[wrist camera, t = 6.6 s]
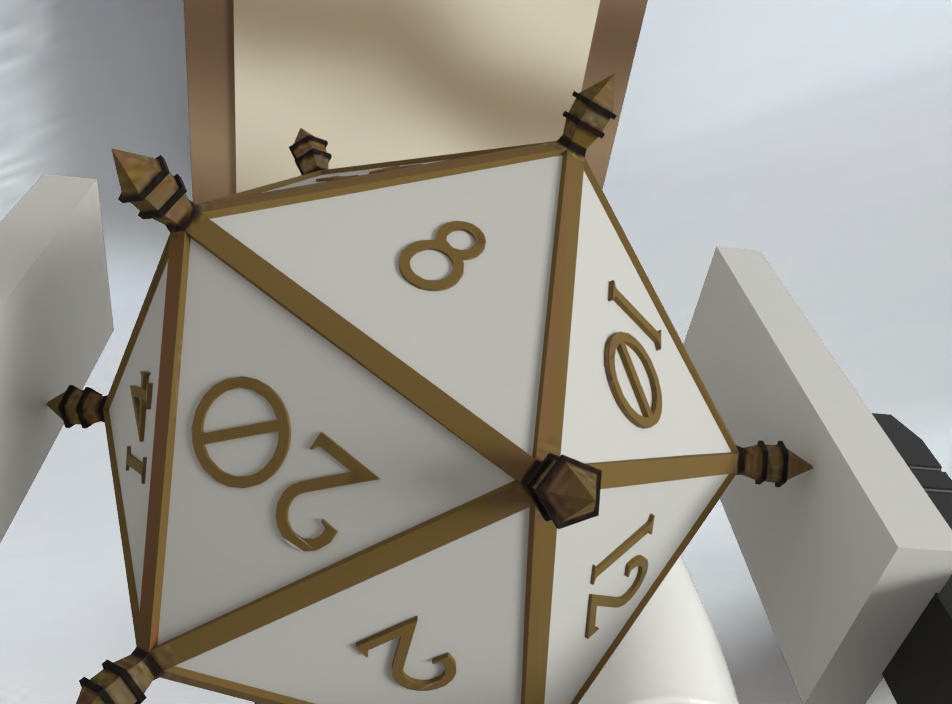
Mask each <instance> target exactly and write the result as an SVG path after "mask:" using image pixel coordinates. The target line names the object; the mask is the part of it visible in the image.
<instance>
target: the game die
mask: <svg viewBox="0 0 952 704" xmlns="http://www.w3.org/2000/svg"><path fill="white" fill-rule="evenodd" d="M615 74H616V73H614V74H612V75H611V76H609V77H607V78H605V79H603V80H602V81H600V82H598V83H596V84H594V85H593V86H591V87H589V88H587V89H585V90H584V91H582V92H580V93H577V92H575V91H574V92H573V94H572V96H574V97H576V99H575V101H574V103H573V105H572V107H571V109H570V111H569V113H568V112H567V111H564V113H563V116H564V117H566V121H565V126H564V131H563V135H562V136H561V137H560V138H559V139H558V140H557V141H552V142H544V143H536V144H528V145H520V146H511V147H503V148H495V149H487V150H479V151H471V152H463V153H455V154H447V155H439V156H431V157H423V158H415V159H407V160H399V161H391V162H383V163H375V164H367V165H359V166H350V167H342V168H334V169H328V163H329V161H330V159H331V158H332V156H331V154H330V153H327V151H326V147H327V145H328V142H327V141H326V140H323V139H320V138H317V137H315V136H313V135H312V134H310V133H308V132H307V131H305V130H304V129H302V128H300V130H299V132H298V135H297V137H296V139H295V142H294V144H293V145H291V146H289V149H290V151H291V153H292V155H293V157H294V159H295V160H294V161H295V163H296V165H297V167H298V169H299V171H300V173H301V176H298V177H294V178H290V179H287V180H283V181H279V182H276V183H272V184H268V185H265V186H261V187H257V188H254V189H250V190H246V191H243V192H239V193H235V194H232V195H228V196H225V197H221V198H217V199H214V200H210V201H206V202H203V203H199V204H194V203H193V202H191V201H190V200H189V199H188V198H187V196H186V194H185V193H186V192H187V190H186V188H185V186H184V183H183V181H182V178H181V177H180V176H179V175H178V174H176V175H175V176H173V175H172V174H171V173H170V172H169V170H168V167H167V164H166V162H165V159H164V158H163V157H162V156H161V155H160V156H159V157H157V158H156V159H154V158H149V157H145V156H141V155H137V154H133V153H128V152H124V151H120V150H116V149H112V152H113V157H114V161H115V165H116V169H117V174H118V178H119V182H120V186H121V191H122V193H121V195H120V197H119V198H118V200H120V201H121V202H122V203H127V202H131V203H132V204H133V205H134V206H135V207H137V208H138V209H139V210H140V212H139V214H138V216H140V217H141V218H142V219H150V218H153V219H155V220H157V221H159V222H161V223H163V224H165V225H166V227H167V228H168V230H169V231H170V235H169V238H168V241H167V243H166V246H165V248H164V251H163V254H162V256H161V259H160V261H159V264H158V267H157V269H156V272H155V274H154V277H153V280H152V282H151V285H150V287H149V290H148V293H147V295H146V298H145V300H144V303H143V306H142V308H141V311H140V314H139V316H138V319H137V321H136V324H135V327H134V329H133V332H132V334H131V337H130V340H129V342H128V345H127V347H126V350H125V353H124V355H123V358H122V360H121V363H120V366H119V368H118V371H117V373H116V376H115V379H114V381H113V384H112V386H111V389H110V392H109V394H108V396H102V394H100V393H98V392H96V391H95V390H93V389H91V388H89V387H86V388H85V390H81V389H79V388H77V387H75V386H74V385H69V386H68V388H67V390H66V391H65V392H63V393H62V394H60V395H58V396H57V397H55V398H53V399H52V400H50V401H49V402H47V406H48V407H49V408H50V409H51V410H52V411H53V412H55V413H56V414H57V415H58V416H59V417H60V418H61V419H62V420H63V422H64V424H65V427H66V428H70V427H72V426H73V425H75V424H81V425H82V428H88V427H89V426H91V425H92V424H94V423H96V422H100V421H102V422H105V426H106V433H107V441H108V448H109V455H110V462H111V469H112V476H113V483H114V490H115V497H116V504H117V511H118V518H119V525H120V532H121V539H122V546H123V553H124V560H125V567H126V575H127V582H128V589H129V596H130V603H131V610H132V617H133V624H134V631H135V638H136V645H137V647H136V649H135V650H134V651H133V653H132V654H131V655H129V656H127V657H125V658H123V659H121V660H118V661H116V662H114V663H113V662H111V661H109V660H106V661H105V662H104V663H102V666H103V668H104V669H103V670H102V671H101V672H99V673H98V674H97V675H95V676H94V677H93V678H91V679H90V680H89V679H87V678H85V677H83V678H82V679H81V680H80V681H79V682H80V684H81V687H82V689H81V692H80V695H79V698H78V700H77V703H76V704H140V703H142V702H143V701H144V700H145V699H146V696H145V695H144V693H145V691H146V690H147V688H148V687H149V685H150V684H151V682H152V681H153V680H155V679H157V678H159V677H161V678H165V679H168V680H172V681H176V682H180V683H184V684H188V685H191V686H195V687H199V688H203V689H207V690H211V691H214V692H218V693H222V694H226V695H230V696H234V697H237V698H241V699H245V700H249V701H253V702H255V704H578V703H579V702H580V700H581V699H582V698H583V696H584V695H585V693H586V692H587V690H588V689H589V687H590V686H591V685H592V683H593V682H594V680H595V679H596V677H597V676H598V674H599V673H600V671H601V670H602V669H603V667H604V666H605V664H606V663H607V661H608V660H609V658H610V657H611V655H612V654H613V653H614V651H615V650H616V648H617V647H618V645H619V644H620V642H621V641H622V640H623V638H624V637H625V635H626V634H627V632H628V631H629V629H630V628H631V626H632V625H633V624H634V622H635V621H636V619H637V618H638V616H639V615H640V613H641V612H642V610H643V609H644V608H645V606H646V605H647V603H648V602H649V600H650V599H651V597H652V596H653V595H654V593H655V592H656V590H657V589H658V587H659V586H660V584H661V583H662V581H663V580H664V579H665V577H666V576H667V574H668V573H669V571H670V570H671V568H672V567H673V566H674V564H675V563H676V561H677V560H678V558H679V557H680V555H681V554H682V552H683V551H684V550H685V548H686V547H687V545H688V544H689V542H690V541H691V539H692V538H693V536H694V535H695V534H696V532H697V531H698V529H699V528H700V526H701V525H702V523H703V522H704V521H705V519H706V518H707V516H708V515H709V513H710V512H711V510H712V509H713V507H714V506H715V505H716V503H717V502H718V500H719V499H720V497H721V496H722V494H723V493H724V492H725V490H726V489H727V487H728V486H729V484H730V483H731V481H732V480H733V478H734V477H735V476H736V475H744V476H746V477H749V478H751V479H754V480H755V484H759V485H760V484H762V483H763V482H772V483H775V487H781V486H782V485H783V484H785V483H786V482H787V480H789V479H791V478H793V477H795V476H798V475H800V474H802V473H804V472H807V471H809V470H811V469H813V466H812V465H811V464H809V463H808V462H806V461H805V460H803V459H802V458H800V457H799V456H797V455H796V454H794V453H793V452H792V451H790V450H789V449H787V448H786V446H785V445H784V443H783V441H778V443H777V445H765V443H764V441H761V440H758V444H757V445H754V446H749V447H745V448H742V447H740V446H737V445H736V444H735V442H734V440H733V438H732V436H731V435H730V433H729V431H728V429H727V427H726V425H725V423H724V421H723V419H722V417H721V416H720V414H719V412H718V410H717V408H716V406H715V404H714V402H713V400H712V398H711V397H710V395H709V393H708V391H707V389H706V387H705V385H704V383H703V381H702V379H701V378H700V376H699V374H698V372H697V370H696V368H695V366H694V364H693V362H692V360H691V359H690V357H689V355H688V353H687V351H686V349H685V347H684V345H683V343H682V341H681V340H680V338H679V336H678V334H677V332H676V330H675V328H674V326H673V324H672V322H671V320H670V319H669V317H668V315H667V313H666V311H665V309H664V307H663V305H662V303H661V301H660V300H659V298H658V296H657V294H656V292H655V290H654V288H653V286H652V284H651V282H650V281H649V279H648V277H647V275H646V273H645V271H644V269H643V267H642V265H641V263H640V262H639V260H638V258H637V256H636V254H635V252H634V250H633V248H632V246H631V244H630V243H629V241H628V239H627V237H626V235H625V233H624V231H623V229H622V227H621V225H620V224H619V222H618V220H617V218H616V216H615V214H614V212H613V210H612V208H611V206H610V204H609V203H608V201H607V199H606V197H605V195H604V193H603V191H602V189H601V187H600V185H599V184H598V182H597V180H596V178H595V176H594V174H593V172H592V170H591V168H590V166H589V165H588V163H587V161H586V159H585V154H586V150H587V148H588V147H589V146H590V145H591V144H592V143H593V142H594V141H595V140H596V139H597V138H598V137H600V138H603V136H604V135H605V133H604V132H602V131H603V130H604V128H605V126H606V125H607V123H608V122H609V120H610V118H612V119H614V120H615V118H616V116H617V115H615V114H614V113H613V111H614V92H615Z"/></svg>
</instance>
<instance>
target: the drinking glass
mask: <svg viewBox="0 0 952 704" xmlns="http://www.w3.org/2000/svg"><path fill="white" fill-rule="evenodd" d="M578 704H739V702H738V699H737V695H736V692H735V688H734V685H733V682H732V678H731V675H730V672H729V669H728V666H727V663H726V660H725V657H724V654H723V652H722V649H721V646H720V644H719V641H718V638H717V636H716V633H715V631H714V628H713V626H712V623H711V621H710V618H709V616H708V614H707V612H706V609H705V607H704V605H703V602H702V600H701V598H700V596H699V594H698V591H697V589H696V587H695V585H694V582H693V580H692V578H691V576H690V574H689V571H688V569H687V567H686V565H685V562H684V560H683V558H682V556H681V555H680V557H679V558H678V560H677V561H676V563H675V564H674V566H673V567H672V568H671V570H670V571H669V573H668V574H667V576H666V577H665V579H664V580H663V581H662V583H661V584H660V586H659V587H658V589H657V590H656V592H655V593H654V595H653V596H652V597H651V599H650V600H649V602H648V603H647V605H646V606H645V608H644V609H643V610H642V612H641V613H640V615H639V616H638V618H637V619H636V621H635V622H634V624H633V625H632V626H631V628H630V629H629V631H628V632H627V634H626V635H625V637H624V638H623V640H622V641H621V642H620V644H619V645H618V647H617V648H616V650H615V651H614V653H613V654H612V655H611V657H610V658H609V660H608V661H607V663H606V664H605V666H604V667H603V669H602V670H601V671H600V673H599V674H598V676H597V677H596V679H595V680H594V682H593V683H592V685H591V686H590V687H589V689H588V690H587V692H586V693H585V695H584V696H583V698H582V699H581V700H580V702H579V703H578Z"/></svg>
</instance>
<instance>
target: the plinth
mask: <svg viewBox="0 0 952 704" xmlns="http://www.w3.org/2000/svg"><path fill="white" fill-rule="evenodd" d="M647 1H648V0H184V17H185V39H186V61H187V82H188V104H189V126H190V147H191V169H192V191H193V203H194V204H199V203H203V202H206V201H210V200H214V199H217V198H221V197H225V196H228V195H232V194H235V193H239V192H243V191H246V190H250V189H254V188H257V187H261V186H265V185H268V184H272V183H276V182H279V181H283V180H287V179H290V178H294V177H298V176H301V173H300V171H299V169H298V167H297V165H296V163H295V161H294V160H295V159H294V157H293V155H292V153H291V151H290V149H289V146H291V145H293V144H294V142H295V139H296V137H297V135H298V132H299V130H300V128H302V129H304V130H305V131H307V132H308V133H310V134H312V135H313V136H315V137H317V138H320V139H323V140H326V141H327V142H328V145H327V147H326V151H327V153H330V154H331V156H332V158H331V159H330V161H329V163H328V169H334V168H342V167H350V166H359V165H367V164H375V163H383V162H391V161H399V160H407V159H415V158H423V157H431V156H439V155H447V154H455V153H463V152H471V151H479V150H487V149H495V148H503V147H511V146H520V145H528V144H536V143H544V142H552V141H557V140H558V139H559V138H560V137H561V136H562V135H563V131H564V126H565V121H566V117H564V116H563V113H564V111H567V112H568V113H569V111H570V109H571V107H572V105H573V103H574V101H575V99H576V97H574V96H572V94H573V92H574V91H575V92H577V93H580V92H582V91H584V90H585V89H587V88H589V87H591V86H593V85H594V84H596V83H598V82H600V81H602V80H603V79H605V78H607V77H609V76H611V75H612V74H614V73H616V74H615V92H614V111H613V113H614V114H615V115H617V116H616V118H615V120H614V119H612V118H610V120H609V122H608V123H607V125H606V126H605V128H604V130H603V131H602V132H604V133H605V135H604V136H603V138H600V137H598V138H597V139H596V140H595V141H594V142H593V143H592V144H591V145H590V146H589V147H588V148H587V150H586V154H585V159H586V161H587V163H588V165H589V166H590V168H591V170H592V172H593V174H594V176H595V178H596V180H597V182H598V184H599V185H600V187H601V189H603V185H604V180H605V176H606V172H607V168H608V164H609V159H610V155H611V151H612V147H613V143H614V139H615V134H616V130H617V126H618V122H619V118H620V113H621V109H622V105H623V101H624V97H625V93H626V88H627V84H628V80H629V76H630V72H631V68H632V63H633V59H634V55H635V51H636V47H637V42H638V38H639V34H640V30H641V26H642V22H643V17H644V13H645V9H646V5H647Z"/></svg>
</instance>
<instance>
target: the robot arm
mask: <svg viewBox="0 0 952 704" xmlns="http://www.w3.org/2000/svg"><path fill="white" fill-rule="evenodd" d="M113 331H114V328H113V318H112V309H111V300H110V291H109V282H108V273H107V264H106V254H105V245H104V236H103V227H102V218H101V209H100V200H99V191H98V181H97V179H92V178H82V177H73V176H64V175H55V174H45V173H44V174H43V175H42V176H41V178H40V179H39V180H38V181H37V182H36V183H35V184H34V185H33V186H32V188H31V189H30V190H29V191H28V192H27V193H26V194H25V195H24V196H23V198H22V199H21V200H20V201H19V202H18V203H17V204H16V205H15V206H14V208H13V209H12V210H11V211H10V212H9V213H8V214H7V215H6V217H5V218H4V219H3V220H2V221H1V222H0V543H1V541H2V539H3V537H4V535H5V533H6V532H7V530H8V528H9V526H10V524H11V522H12V520H13V518H14V517H15V515H16V513H17V511H18V509H19V507H20V505H21V503H22V502H23V500H24V498H25V496H26V494H27V492H28V490H29V488H30V486H31V485H32V483H33V481H34V479H35V477H36V475H37V473H38V471H39V470H40V468H41V466H42V464H43V462H44V460H45V458H46V456H47V455H48V453H49V451H50V449H51V447H52V445H53V443H54V441H55V440H56V438H57V436H58V434H59V432H60V430H61V428H62V426H63V425H64V422H63V420H62V419H61V418H60V417H59V416H58V415H57V414H56V413H55V412H53V411H52V410H51V409H50V408H49V407H48V406H47V402H49V401H50V400H52V399H53V398H55V397H57V396H58V395H60V394H62V393H63V392H65V391H66V390H67V388H68V386H69V385H74V386H75V387H77V388H79V389H81V390H82V389H83V387H84V385H85V383H86V381H87V379H88V378H89V376H90V374H91V372H92V370H93V368H94V366H95V364H96V363H97V361H98V359H99V357H100V355H101V353H102V351H103V349H104V348H105V346H106V344H107V342H108V340H109V338H110V336H111V334H112V332H113ZM683 345H684V347H685V349H686V351H687V353H688V355H689V357H690V359H691V360H692V362H693V364H694V366H695V368H696V370H697V372H698V374H699V376H700V378H701V379H702V381H703V383H704V385H705V387H706V389H707V391H708V393H709V395H710V397H711V398H712V400H713V402H714V404H715V406H716V408H717V410H718V412H719V414H720V416H721V417H722V419H723V421H724V423H725V425H726V427H727V429H728V431H729V433H730V435H731V436H732V438H733V440H734V442H735V444H736V445H737V446H740V447H742V448H745V447H749V446H754V445H757V444H758V440H761V441H764V443H765V445H777V443H778V441H783V443H784V445H785V446H786V448H787V449H789V450H790V451H792V452H793V453H794V454H796V455H797V456H799V457H800V458H802V459H803V460H805V461H806V462H808V463H809V464H811V465H812V466H813V469H811V470H809V471H807V472H804V473H802V474H800V475H798V476H795V477H793V478H791V479H789V480H787V482H786V483H785V484H783V485H782V486H781V487H775V483H772V482H763V483H762V484H760V485H759V484H755V480H754V479H751V478H749V477H746V476H744V475H736V476H735V477H734V478H733V480H732V481H731V483H730V484H729V486H728V487H727V489H726V490H725V492H724V493H723V494H722V496H721V497H720V500H721V502H722V505H723V507H724V510H725V512H726V515H727V517H728V520H729V522H730V525H731V527H732V529H733V532H734V534H735V537H736V539H737V542H738V544H739V547H740V549H741V552H742V554H743V557H744V559H745V562H746V564H747V567H748V569H749V572H750V574H751V577H752V579H753V582H754V584H755V587H756V589H757V591H758V594H759V596H760V599H761V601H762V604H763V606H764V609H765V611H766V614H767V616H768V619H769V621H770V624H771V626H772V629H773V631H774V634H775V636H776V639H777V641H778V644H779V646H780V649H781V651H782V654H783V656H784V658H785V661H786V663H787V666H788V668H789V671H790V673H791V676H792V678H793V681H794V683H795V686H796V688H797V691H798V693H799V696H800V698H801V701H802V703H803V704H865V703H866V702H867V700H868V699H869V697H870V696H871V694H872V693H873V691H874V690H875V688H876V687H877V685H878V684H879V682H880V681H881V679H882V678H883V676H884V678H885V680H886V682H887V684H888V686H889V688H890V690H891V692H892V694H893V696H894V698H895V700H896V702H897V704H952V480H951V479H950V477H949V476H948V475H947V473H946V472H942V471H941V468H942V467H941V465H940V464H939V462H938V461H937V460H936V458H935V457H934V456H933V454H932V453H931V452H930V450H929V449H928V447H927V446H926V445H925V443H924V442H923V441H922V439H920V438H919V437H918V436H917V435H915V434H914V433H913V432H912V431H910V430H909V429H908V428H907V427H905V426H904V425H903V424H902V423H900V422H899V421H898V420H897V419H895V418H894V417H893V416H892V415H887V414H875V413H871V412H870V410H869V409H868V407H867V406H866V404H865V403H864V402H863V400H862V399H861V397H860V396H859V394H858V393H857V391H856V390H855V388H854V387H853V385H852V384H851V383H850V381H849V380H848V378H847V377H846V375H845V374H844V372H843V371H842V369H841V368H840V367H839V365H838V364H837V362H836V361H835V359H834V358H833V356H832V355H831V353H830V352H829V351H828V349H827V348H826V346H825V345H824V343H823V342H822V340H821V339H820V337H819V336H818V334H817V333H816V332H815V330H814V329H813V327H812V326H811V324H810V323H809V321H808V320H807V318H806V317H805V316H804V314H803V313H802V311H801V310H800V308H799V307H798V305H797V304H796V302H795V301H794V299H793V298H792V297H791V295H790V294H789V292H788V291H787V289H786V288H785V286H784V285H783V283H782V282H781V281H780V279H779V278H778V276H777V275H776V273H775V272H774V270H773V269H772V267H771V266H770V265H769V263H768V262H767V260H766V259H765V257H764V256H763V254H762V253H761V251H756V250H746V249H737V248H728V247H719V246H717V247H716V250H715V252H714V255H713V258H712V261H711V264H710V267H709V270H708V273H707V276H706V279H705V282H704V285H703V288H702V291H701V294H700V297H699V300H698V303H697V306H696V309H695V312H694V315H693V318H692V321H691V324H690V327H689V330H688V333H687V336H686V339H685V341H684V344H683Z"/></svg>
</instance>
